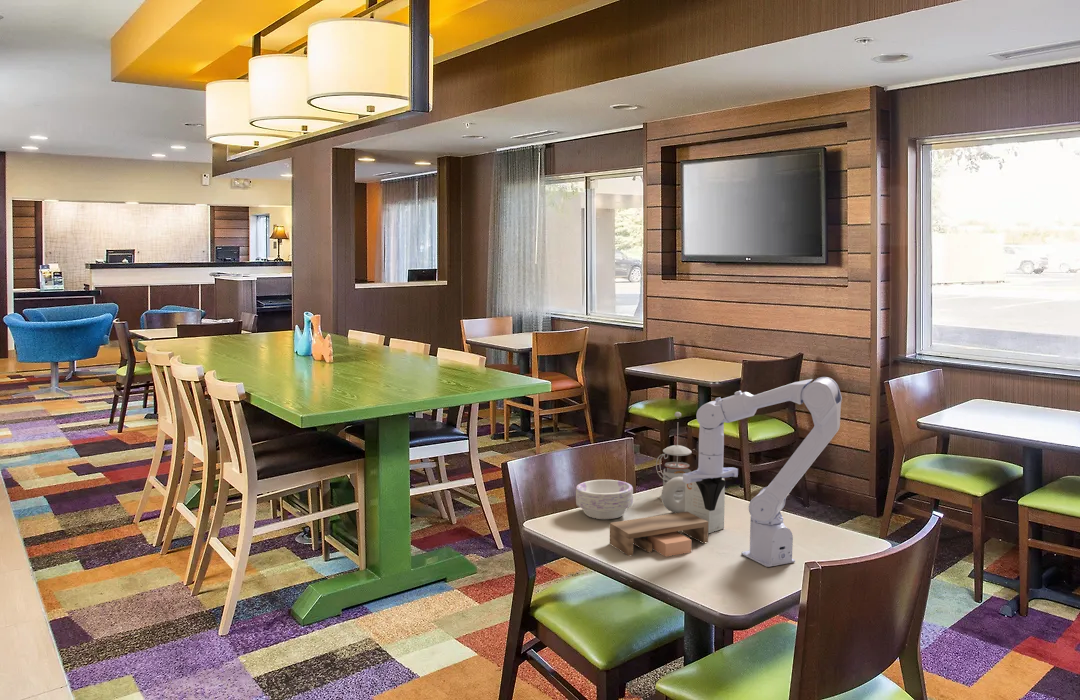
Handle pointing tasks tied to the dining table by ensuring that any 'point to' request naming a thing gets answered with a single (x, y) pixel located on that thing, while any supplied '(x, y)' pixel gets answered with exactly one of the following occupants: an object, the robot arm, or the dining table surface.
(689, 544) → the cover
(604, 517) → the paper bowls
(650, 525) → the wooden stand
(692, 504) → the small box
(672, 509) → the donut
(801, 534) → the dining table surface
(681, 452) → the french press
